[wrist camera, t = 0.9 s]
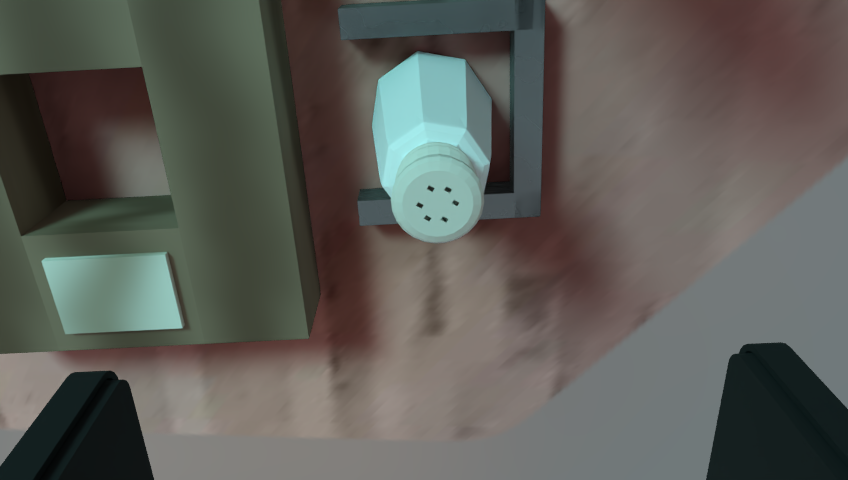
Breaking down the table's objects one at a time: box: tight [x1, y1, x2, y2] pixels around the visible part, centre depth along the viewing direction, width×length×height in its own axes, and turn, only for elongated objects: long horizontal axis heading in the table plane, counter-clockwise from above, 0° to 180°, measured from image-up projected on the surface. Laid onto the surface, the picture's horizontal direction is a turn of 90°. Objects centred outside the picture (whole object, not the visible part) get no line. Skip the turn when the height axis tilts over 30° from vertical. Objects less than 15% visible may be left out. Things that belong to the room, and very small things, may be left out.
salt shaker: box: [372, 51, 492, 243], centre depth 25 cm, size 5×5×11 cm
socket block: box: [0, 0, 321, 354], centre depth 28 cm, size 16×18×4 cm
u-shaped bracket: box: [338, 0, 545, 226], centre depth 29 cm, size 8×9×2 cm
